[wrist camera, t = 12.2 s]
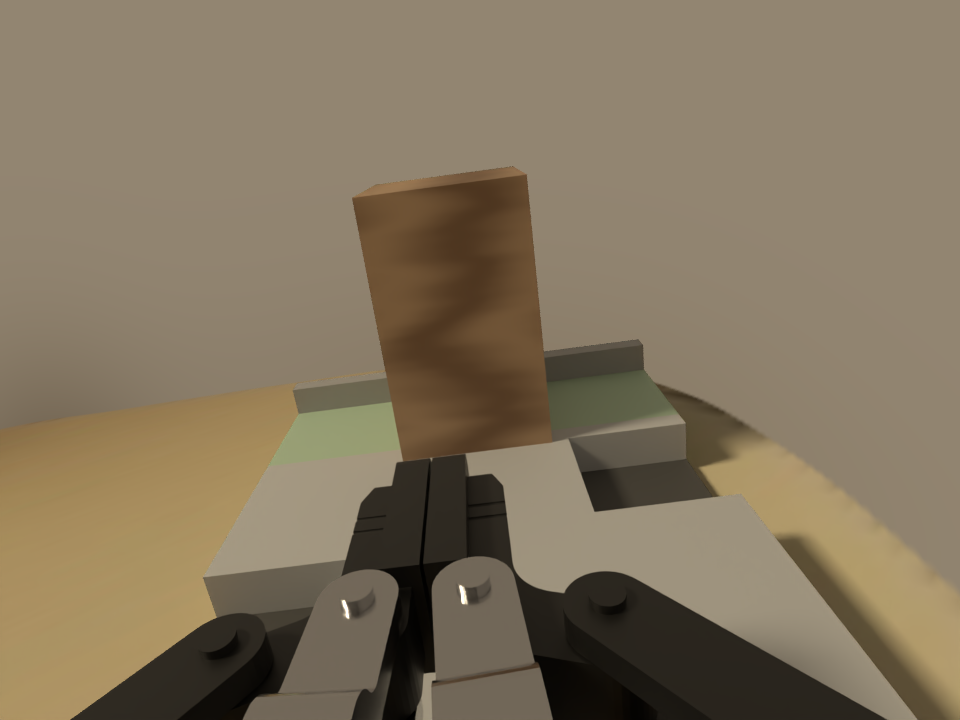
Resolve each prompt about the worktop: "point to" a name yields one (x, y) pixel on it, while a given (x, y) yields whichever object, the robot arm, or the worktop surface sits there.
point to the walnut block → (457, 311)
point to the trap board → (546, 516)
